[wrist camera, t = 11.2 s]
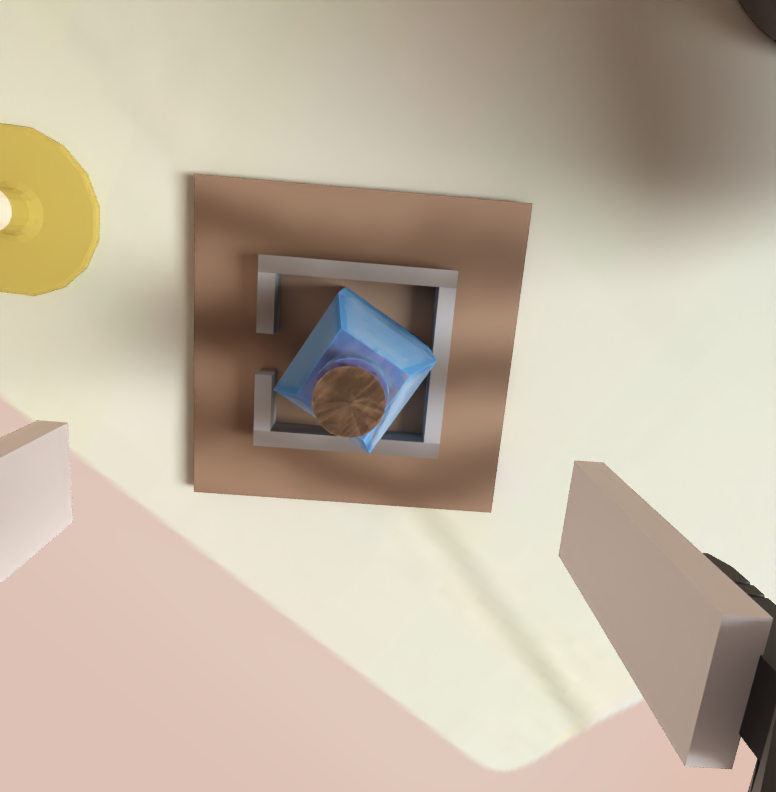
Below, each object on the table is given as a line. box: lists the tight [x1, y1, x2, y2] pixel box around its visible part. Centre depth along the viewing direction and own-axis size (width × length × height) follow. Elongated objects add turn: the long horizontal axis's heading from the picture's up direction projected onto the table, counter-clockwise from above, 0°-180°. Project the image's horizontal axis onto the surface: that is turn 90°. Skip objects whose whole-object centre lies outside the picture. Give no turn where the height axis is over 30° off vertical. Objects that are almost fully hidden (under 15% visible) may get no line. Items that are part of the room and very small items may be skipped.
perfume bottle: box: [273, 287, 437, 453], centre depth 30 cm, size 6×6×12 cm
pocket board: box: [194, 174, 532, 513], centre depth 35 cm, size 20×20×3 cm
